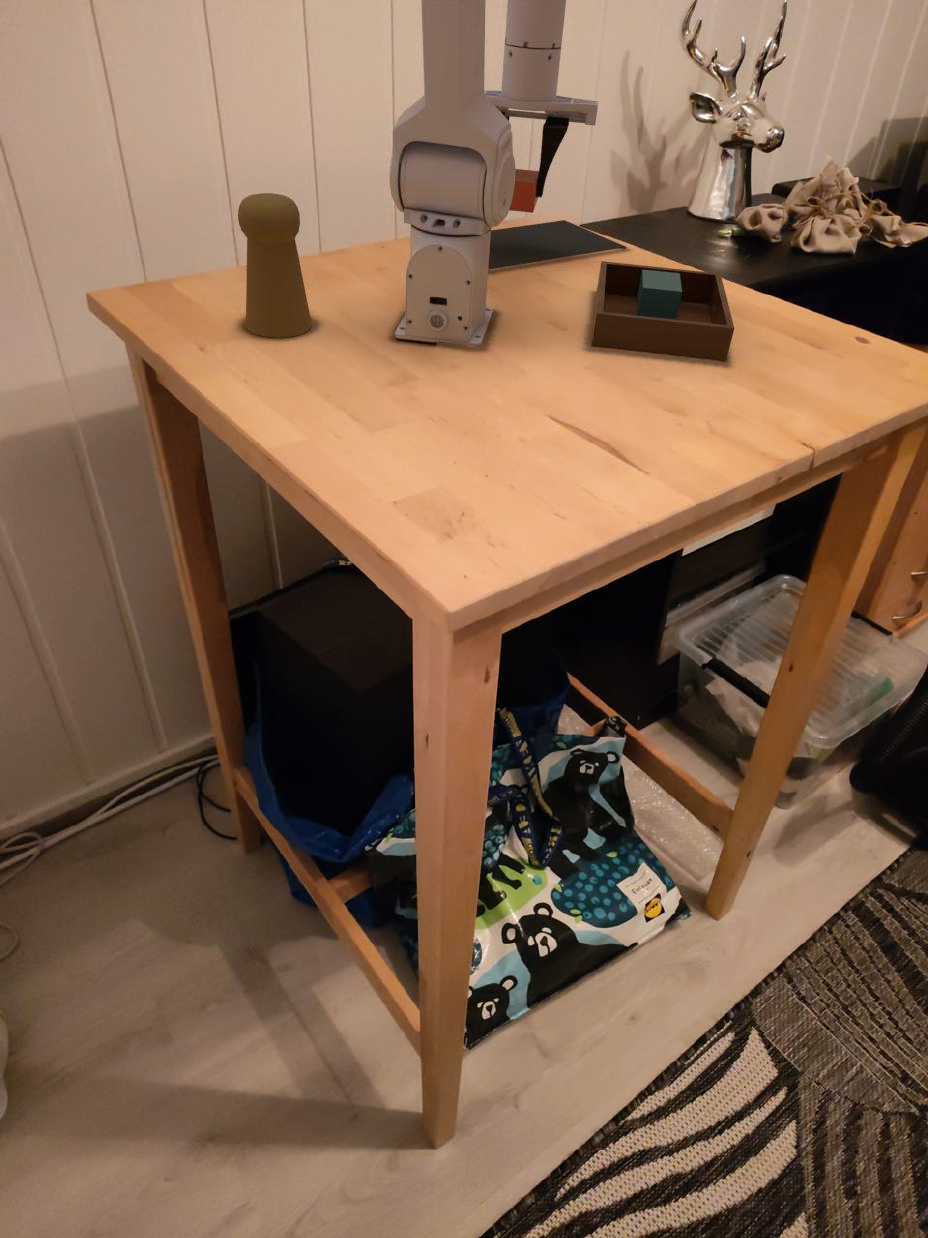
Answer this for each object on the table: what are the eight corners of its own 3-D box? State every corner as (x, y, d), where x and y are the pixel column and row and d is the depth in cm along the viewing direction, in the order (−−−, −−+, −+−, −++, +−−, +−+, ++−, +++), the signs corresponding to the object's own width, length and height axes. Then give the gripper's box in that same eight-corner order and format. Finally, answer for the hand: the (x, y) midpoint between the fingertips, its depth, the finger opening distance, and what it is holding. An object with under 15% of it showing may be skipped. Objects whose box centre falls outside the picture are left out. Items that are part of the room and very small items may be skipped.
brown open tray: (724, 365, 76) (734, 328, 73) (590, 349, 77) (596, 313, 74) (712, 306, 87) (720, 273, 85) (596, 293, 88) (601, 260, 86)
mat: (625, 250, 100) (626, 246, 100) (490, 272, 92) (490, 268, 91) (564, 223, 108) (564, 219, 108) (433, 241, 99) (433, 237, 99)
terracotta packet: (533, 212, 91) (536, 182, 89) (498, 209, 91) (501, 179, 89) (537, 199, 95) (540, 170, 93) (504, 196, 95) (506, 167, 93)
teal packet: (675, 322, 82) (682, 291, 80) (636, 317, 82) (642, 287, 80) (673, 302, 86) (679, 273, 84) (636, 298, 87) (642, 269, 85)
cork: (306, 339, 75) (296, 207, 68) (238, 335, 75) (222, 202, 68) (316, 314, 80) (309, 188, 72) (253, 310, 79) (239, 184, 72)
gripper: (606, 46, 86) (586, 190, 95) (467, 35, 87) (461, 178, 96) (604, 54, 81) (583, 206, 89) (456, 42, 82) (451, 193, 91)
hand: (519, 193), depth 92 cm, fingers closed on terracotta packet, 4 cm apart
